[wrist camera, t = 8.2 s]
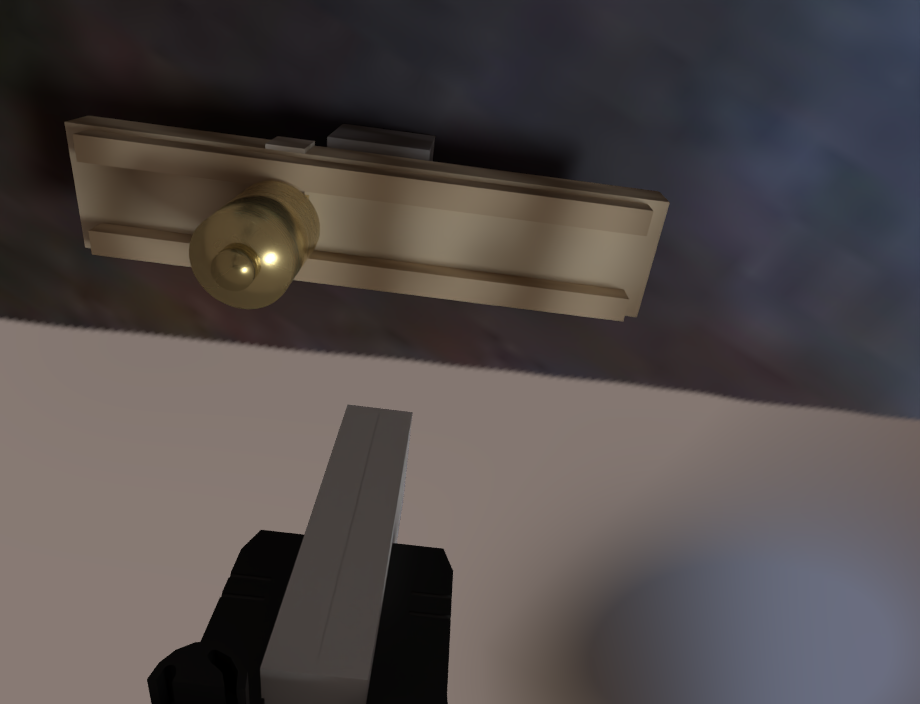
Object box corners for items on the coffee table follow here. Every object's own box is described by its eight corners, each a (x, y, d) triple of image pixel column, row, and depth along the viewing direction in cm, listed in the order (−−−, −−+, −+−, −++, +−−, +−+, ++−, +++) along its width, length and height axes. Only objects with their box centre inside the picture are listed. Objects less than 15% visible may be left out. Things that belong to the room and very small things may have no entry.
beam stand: (143, 221, 37) (73, 265, 31) (127, 94, 34) (46, 114, 27) (612, 281, 38) (639, 336, 32) (643, 164, 35) (680, 198, 28)
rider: (243, 251, 31) (182, 312, 25) (239, 169, 29) (173, 213, 23) (324, 261, 31) (285, 325, 25) (326, 180, 29) (284, 227, 23)
